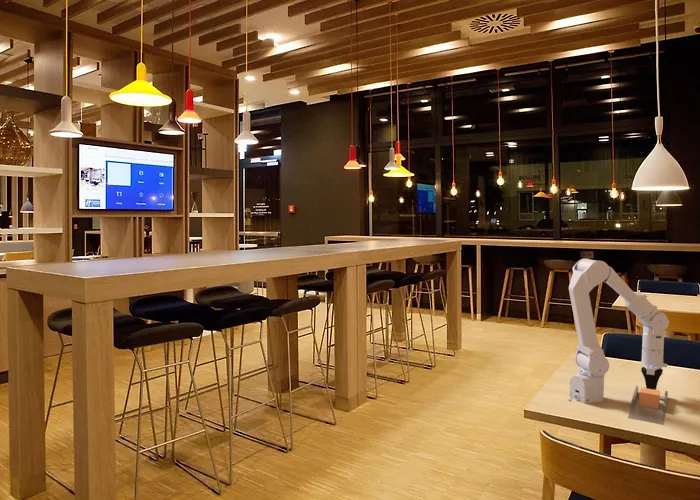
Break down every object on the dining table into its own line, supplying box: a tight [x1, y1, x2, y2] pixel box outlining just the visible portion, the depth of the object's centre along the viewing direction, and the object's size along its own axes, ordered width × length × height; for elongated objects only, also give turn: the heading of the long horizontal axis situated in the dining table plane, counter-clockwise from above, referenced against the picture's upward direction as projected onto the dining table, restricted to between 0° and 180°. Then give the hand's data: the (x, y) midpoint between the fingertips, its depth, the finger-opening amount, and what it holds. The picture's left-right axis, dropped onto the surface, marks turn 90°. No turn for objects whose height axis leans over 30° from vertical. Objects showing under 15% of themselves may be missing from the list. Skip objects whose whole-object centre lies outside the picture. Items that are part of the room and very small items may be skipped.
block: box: [638, 387, 661, 409], centre depth 155 cm, size 5×5×4 cm
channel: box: [627, 385, 669, 425], centre depth 153 cm, size 25×9×3 cm, turn 147°
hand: (651, 391), depth 161 cm, fingers closed
